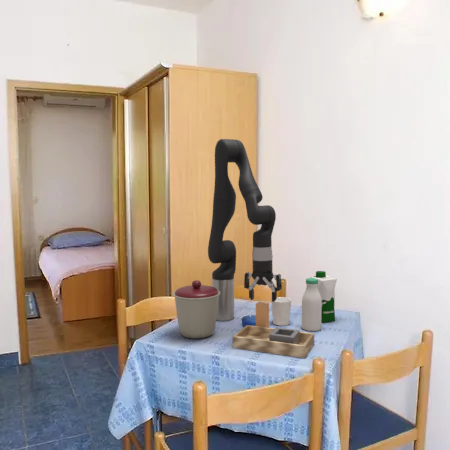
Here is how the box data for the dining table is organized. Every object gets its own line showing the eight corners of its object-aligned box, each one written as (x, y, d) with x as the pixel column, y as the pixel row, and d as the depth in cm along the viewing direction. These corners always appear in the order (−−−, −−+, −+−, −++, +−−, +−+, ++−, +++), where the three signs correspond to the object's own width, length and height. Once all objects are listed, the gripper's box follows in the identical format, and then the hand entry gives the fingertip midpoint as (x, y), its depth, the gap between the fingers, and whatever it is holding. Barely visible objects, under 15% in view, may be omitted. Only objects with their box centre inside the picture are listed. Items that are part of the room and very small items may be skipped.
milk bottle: (321, 332, 184) (322, 281, 182) (301, 331, 186) (301, 280, 184) (321, 326, 192) (322, 277, 190) (302, 324, 193) (302, 276, 191)
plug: (255, 334, 182) (255, 304, 181) (259, 331, 186) (259, 301, 185) (265, 335, 181) (265, 305, 179) (269, 332, 184) (269, 302, 183)
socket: (269, 348, 166) (269, 334, 166) (276, 340, 174) (276, 327, 174) (293, 351, 163) (293, 337, 162) (299, 343, 171) (299, 330, 170)
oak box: (232, 347, 169) (232, 336, 168) (246, 335, 182) (246, 325, 181) (304, 358, 159) (305, 346, 158) (314, 344, 171) (314, 333, 171)
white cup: (278, 327, 191) (278, 303, 190) (267, 322, 198) (267, 298, 196) (294, 324, 194) (294, 300, 193) (283, 319, 201) (283, 296, 200)
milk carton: (325, 315, 206) (325, 270, 204) (338, 321, 198) (339, 273, 196) (308, 318, 202) (308, 271, 200) (321, 324, 194) (321, 276, 192)
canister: (183, 325, 194) (182, 274, 192) (226, 328, 190) (225, 276, 187) (166, 340, 177) (165, 284, 175) (213, 344, 172) (212, 287, 170)
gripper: (241, 259, 180) (241, 301, 181) (277, 260, 174) (278, 304, 176) (248, 256, 187) (248, 296, 188) (283, 257, 181) (283, 299, 182)
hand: (262, 300), depth 182 cm, fingers open, 8 cm apart
